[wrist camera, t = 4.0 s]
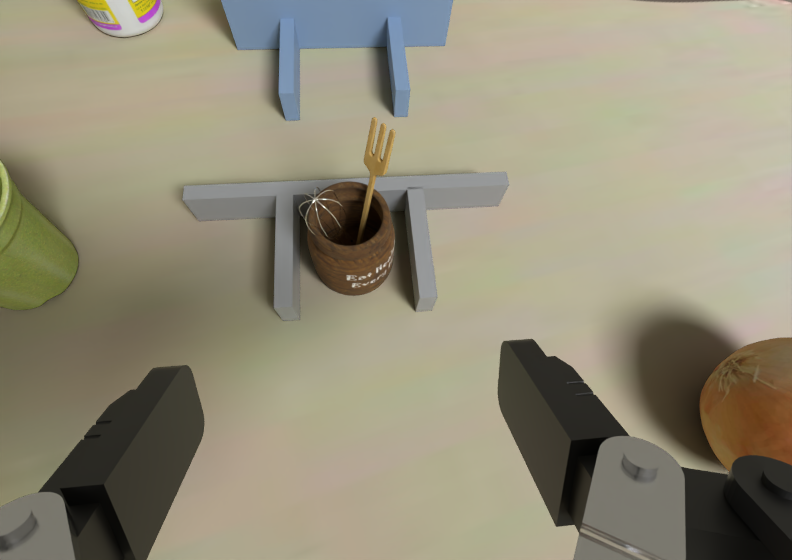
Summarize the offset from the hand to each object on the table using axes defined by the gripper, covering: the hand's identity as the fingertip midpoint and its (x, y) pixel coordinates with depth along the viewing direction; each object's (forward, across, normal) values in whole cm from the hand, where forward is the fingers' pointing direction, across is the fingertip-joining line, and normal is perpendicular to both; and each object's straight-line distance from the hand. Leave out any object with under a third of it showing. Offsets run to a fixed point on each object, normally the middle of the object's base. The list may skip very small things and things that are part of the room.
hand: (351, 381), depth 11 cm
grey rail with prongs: (+21, 0, +4) cm, 21 cm away
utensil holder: (+21, 0, +4) cm, 22 cm away
